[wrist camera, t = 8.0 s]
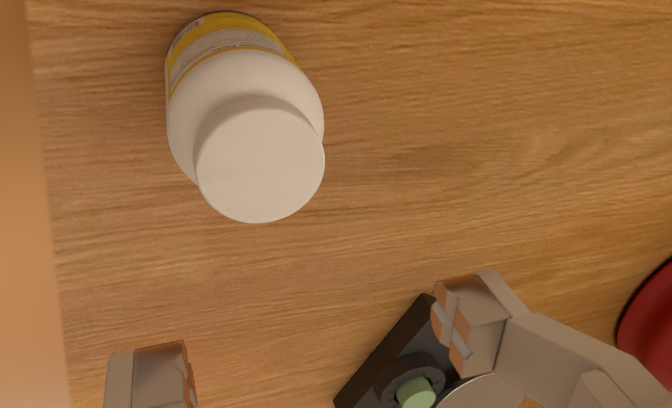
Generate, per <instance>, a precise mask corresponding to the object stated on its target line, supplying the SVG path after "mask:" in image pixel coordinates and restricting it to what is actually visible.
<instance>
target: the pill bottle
mask: <svg viewBox="0 0 672 408" xmlns="http://www.w3.org/2000/svg"><path fill="white" fill-rule="evenodd" d="M165 88H166V131H167V138H168V143H169V147H170V150H171V153H172V155H173V157H174V159H175V161H176V163H177V164H178V166H179V167H180V169H181V170H182V171H183V173H184V174H185V175H186V176H187V177H188V178H189V179H190V180H191V181H193V182H194V183H195V184H196V185H198V187H199V189H200V192H201V193H202V195H203V197H204V198H205V200H206V201H207V202H208V203H209V204H210V205H211V206H212V207H213V208H214V209H215V210H216V211H218V212H219V213H221V214H223V215H224V216H226V217H228V218H230V219H233V220H236V221H240V222H245V223H267V222H272V221H276V220H279V219H282V218H284V217H287V216H289V215H291V214H292V213H294V212H296V211H297V210H299V209H300V208H301V207H302V206H304V205H305V204H306V203H307V202H308V201H309V200H310V198H311V197H312V196H313V195H314V194H315V192H316V191H317V189H318V187H319V185H320V183H321V180H322V177H323V174H324V168H325V154H324V149H323V146H322V139H323V133H324V115H323V109H322V105H321V102H320V99H319V96H318V94H317V92H316V90H315V88H314V87H313V85H312V83H311V82H310V80H309V79H308V77H307V76H306V75H305V73H304V72H303V71H302V69H301V68H300V67H299V65H298V64H297V63H296V61H295V60H294V59H293V57H292V56H291V54H290V53H289V52H288V51H287V49H286V48H285V47H284V45H283V44H282V43H281V41H280V40H279V39H278V37H277V36H276V35H275V33H274V32H273V31H272V30H271V29H270V28H269V27H268V26H266V25H265V24H264V23H263V22H261V21H260V20H258V19H257V18H255V17H253V16H251V15H248V14H246V13H243V12H239V11H233V10H216V11H211V12H207V13H204V14H201V15H199V16H197V17H195V18H193V19H192V20H190V21H189V22H187V23H186V24H185V25H184V26H183V27H182V28H181V29H180V30H179V31H178V32H177V33H176V35H175V36H174V38H173V39H172V41H171V43H170V45H169V48H168V51H167V54H166V59H165Z"/></svg>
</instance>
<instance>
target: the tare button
mask: <svg viewBox="0 0 672 408" xmlns="http://www.w3.org/2000/svg"><path fill="white" fill-rule="evenodd" d="M396 397H397V399H398V401H399V403H400V406H401V408H430V407H431V406H432V405H433V403H434V402H435V399H436V396H435V393H434V391H433V389H432V387H431V386H430V384H429V382H428V380H427V379H426V378H424V377H417V378H413V379H410V380H408V381H407V382H405V383H403V384H401V386H400V387H399V388H398V389H397V390H396Z"/></svg>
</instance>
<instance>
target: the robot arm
mask: <svg viewBox="0 0 672 408" xmlns="http://www.w3.org/2000/svg"><path fill="white" fill-rule="evenodd" d="M433 294H434V296H435V298H436V299H437V300H436V301H435V302H434V303H433V305H432V306H431V313H430V318H431V323H432V328H433V330H434V333H435V335H436V337H437V339H438V340H439V342H440V343H441V344H443V345H444V346H446V347H448V348H450V351H449V359H450V361H451V362H452V364H453V366H454V367H455V369H456V371H457V372H458V374H459V375H460V377H461V379H463V378H467V377H471V376H475V375H479V374H483V373H488V372H492V371H494V372H493V373H494V374H496V375H497V376H499V377H500V378H501V379H503V380H504V381H506V382H507V383H509V384H510V385H512V386H513V387H514V388H516V389H517V390H519V391H520V392H522V393H523V394H525V395H526V396H527V397H529V398H530V399H532V400H533V401H535V402H536V403H538V404H539V405H540V406H542V407H543V408H672V395H671V394H670V393H669V392H668V391H667V389H666V388H665V387H664V386H663V385H662V384H661V383H660V382H659V381H658V380H657V379H656V378H655V377H654V376H653V375H652V374H651V373H650V372H649V371H648V370H647V369H646V368H645V367H644V366H643V365H642V364H641V363H640V362H639V361H638V360H637V359H636V358H635V357H634V356H632V355H630V354H628V353H626V352H623V351H621V350H619V349H617V348H615V347H613V346H610V345H608V344H606V343H604V342H602V341H600V340H597V339H595V338H593V337H591V336H589V335H586V334H584V333H582V332H580V331H578V330H576V329H573V328H571V327H569V326H567V325H565V324H563V323H560V322H558V321H556V320H554V319H552V318H550V317H547V316H545V315H543V314H541V313H539V312H534V313H531V311H530V310H529V309H528V308H527V307H526V306H525V304H524V303H523V302H522V301H521V300H520V299H519V297H518V296H517V295H516V294H515V293H514V292H513V290H512V289H511V288H510V287H509V286H508V284H507V283H506V282H505V281H504V280H503V279H502V277H501V276H500V275H499V274H498V273H497V272H496V271H495V270H493V269H488V270H484V271H479V272H475V273H472V274H471V273H470V274H466V275H462V276H458V277H453V278H449V279H445V280H441V281H437V282H436V283H435V285H434V288H433ZM196 407H197V396H196V388H195V380H194V375H193V371H192V367H191V363H189V362H188V358H187V349H186V345H185V342H184V340H183V339H182V340H177V341H172V342H167V343H162V344H157V345H152V346H148V347H143V348H138V349H135V350H130V351H125V352H120V353H115V354H111V355H110V358H109V360H108V365H107V374H106V384H105V393H104V402H103V408H196Z"/></svg>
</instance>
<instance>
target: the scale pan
mask: <svg viewBox="0 0 672 408" xmlns="http://www.w3.org/2000/svg"><path fill="white" fill-rule="evenodd" d="M493 372H494V371H492V372H488V373H483V374H479V375H475V376H471V377H467V378H463V379H460V380H458V381H457V382H455V383H454V384H452V385H451V386H449V387H448V388H447V389H446V390H445V391H443V392H442V393H441V394H440V395H439V396H438V397H437V398H436V400H435V402H434V403H433V405H432V406H431V407H430V408H518V407H519V406H520V404H521V403H522V401H523V399H524V397H525V394H523V393H522V392H520V391H519V390H517V389H516V388H514V387H513V386H512V385H510V384H509V383H507V382H506V381H504V380H503V379H501V378H500V377H499V376H497V375H496V374H494V373H493Z"/></svg>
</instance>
